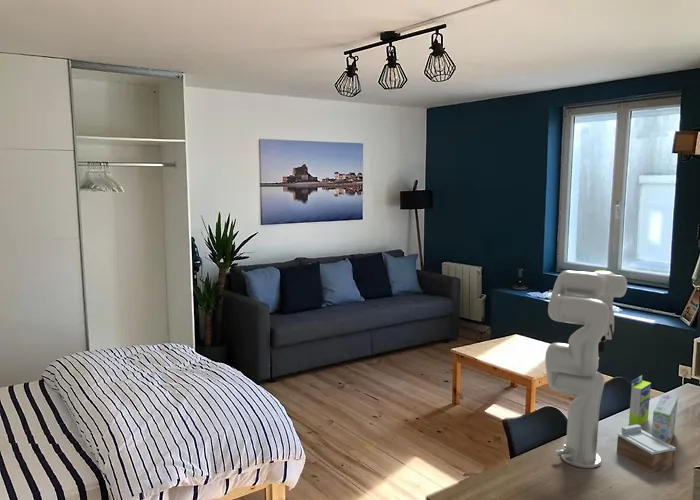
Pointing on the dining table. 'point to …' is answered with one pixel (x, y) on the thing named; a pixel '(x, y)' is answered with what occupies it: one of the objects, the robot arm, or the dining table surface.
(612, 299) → the robot arm
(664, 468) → the keepsake box
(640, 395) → the box
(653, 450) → the lid
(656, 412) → the snack box
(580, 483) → the dining table surface
